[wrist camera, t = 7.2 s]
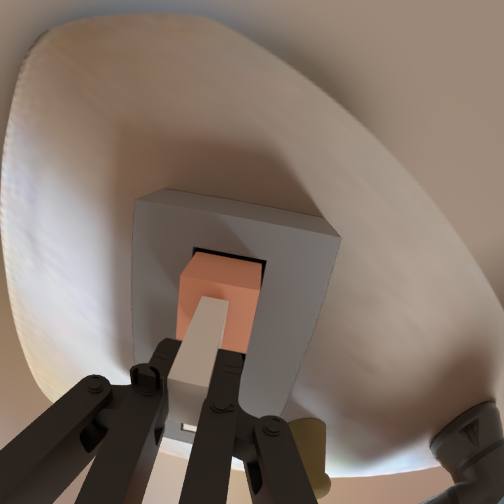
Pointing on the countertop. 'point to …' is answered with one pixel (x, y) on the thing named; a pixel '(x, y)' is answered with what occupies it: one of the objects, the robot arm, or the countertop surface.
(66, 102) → the countertop surface
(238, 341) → the terracotta button
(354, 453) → the countertop surface
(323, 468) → the cork
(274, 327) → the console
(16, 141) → the countertop surface
